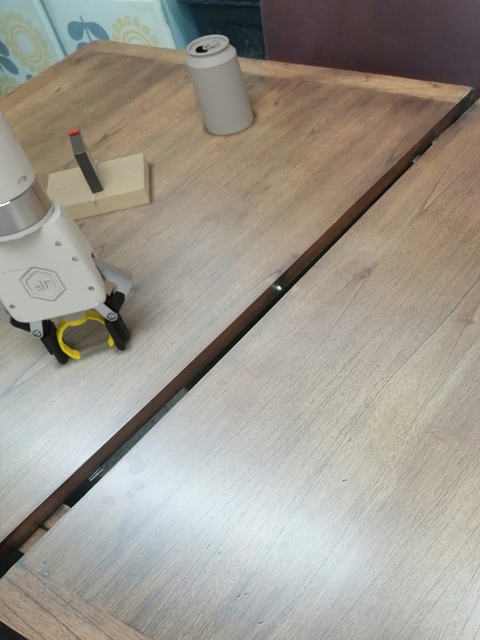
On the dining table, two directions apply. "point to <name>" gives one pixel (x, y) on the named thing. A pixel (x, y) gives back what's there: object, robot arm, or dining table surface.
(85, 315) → the watch
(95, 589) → the dining table surface
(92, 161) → the grey block
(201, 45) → the can
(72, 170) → the tan rectangular block
